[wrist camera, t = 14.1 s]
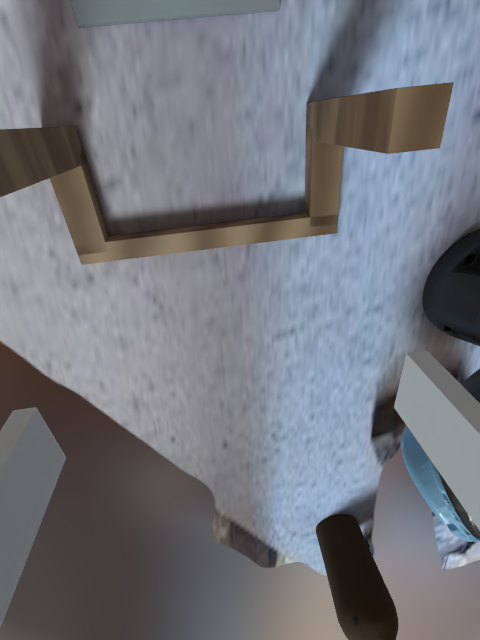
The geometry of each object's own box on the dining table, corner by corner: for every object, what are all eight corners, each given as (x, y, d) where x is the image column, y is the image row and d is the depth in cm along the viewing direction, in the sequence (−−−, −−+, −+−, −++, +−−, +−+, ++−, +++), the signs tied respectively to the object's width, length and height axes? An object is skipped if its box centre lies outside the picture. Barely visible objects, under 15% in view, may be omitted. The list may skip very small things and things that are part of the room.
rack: (338, 99, 30) (453, 82, 17) (330, 227, 37) (409, 290, 23) (41, 129, 29) (-95, 137, 15) (87, 257, 35) (19, 343, 22)
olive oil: (305, 537, 74) (350, 705, 53) (324, 511, 69) (380, 685, 48) (347, 538, 76) (405, 698, 55) (367, 513, 71) (440, 679, 50)
